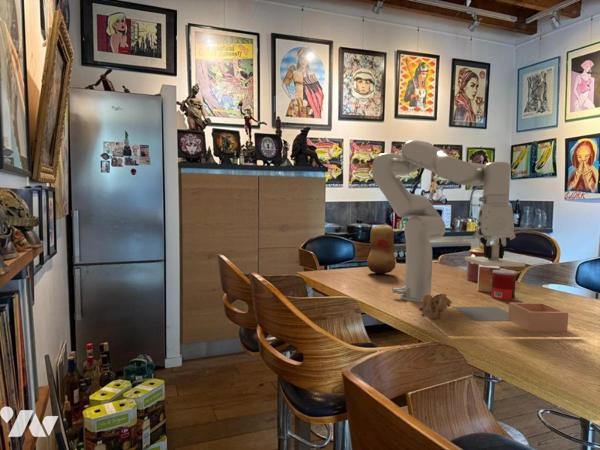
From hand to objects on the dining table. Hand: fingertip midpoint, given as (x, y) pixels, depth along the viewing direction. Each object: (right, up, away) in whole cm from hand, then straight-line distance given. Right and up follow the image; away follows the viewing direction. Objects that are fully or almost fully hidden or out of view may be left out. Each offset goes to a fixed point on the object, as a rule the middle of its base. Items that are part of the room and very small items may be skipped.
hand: (493, 257), depth 129 cm
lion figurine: (-20, -19, -2) cm, 28 cm away
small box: (+16, -18, +39) cm, 46 cm away
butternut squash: (-22, -15, +72) cm, 77 cm away
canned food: (+15, -18, +24) cm, 34 cm away
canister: (+24, -16, +61) cm, 68 cm away
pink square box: (+8, -20, -9) cm, 24 cm away
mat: (-1, -19, +2) cm, 19 cm away
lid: (0, -2, 0) cm, 2 cm away
